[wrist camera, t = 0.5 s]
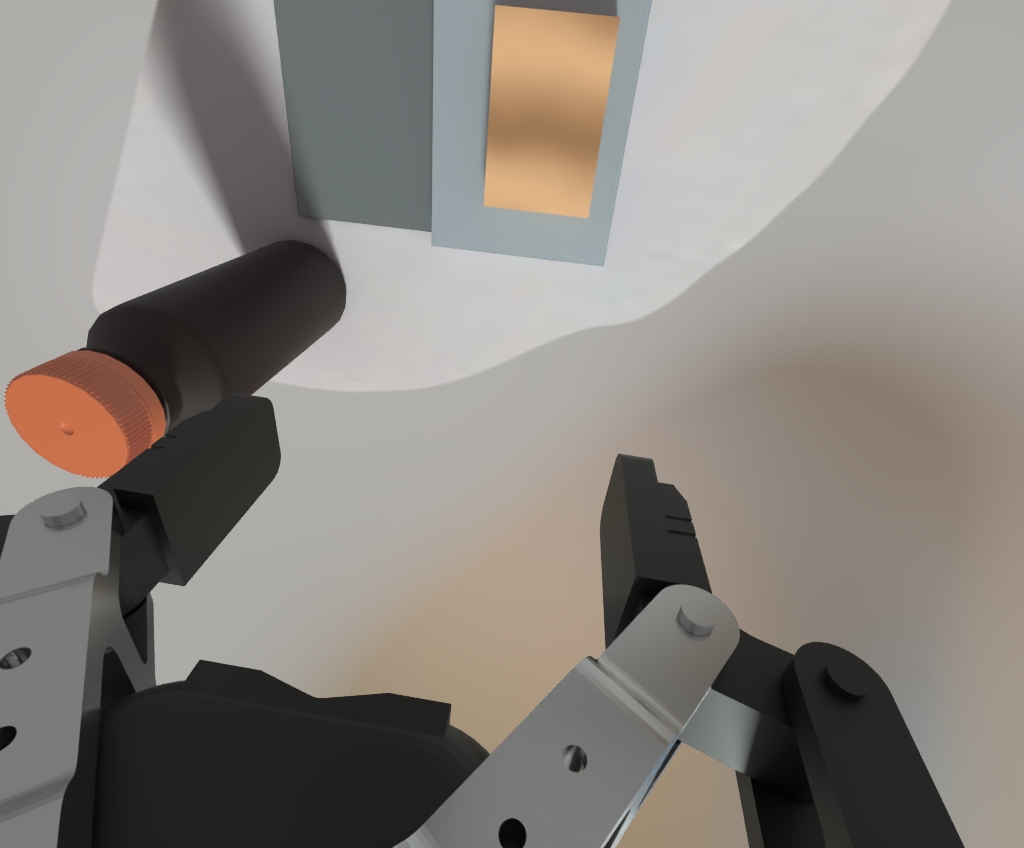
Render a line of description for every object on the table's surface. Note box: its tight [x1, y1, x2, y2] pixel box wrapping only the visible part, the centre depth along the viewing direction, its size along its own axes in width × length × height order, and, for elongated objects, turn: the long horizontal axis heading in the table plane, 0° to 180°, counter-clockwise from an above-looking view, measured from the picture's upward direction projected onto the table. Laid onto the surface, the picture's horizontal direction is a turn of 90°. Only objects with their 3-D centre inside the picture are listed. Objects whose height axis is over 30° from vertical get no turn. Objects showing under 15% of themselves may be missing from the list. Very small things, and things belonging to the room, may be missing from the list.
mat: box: [274, 0, 434, 232], centre depth 31 cm, size 13×9×1 cm
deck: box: [432, 0, 652, 267], centre depth 29 cm, size 16×11×2 cm
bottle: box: [5, 240, 346, 478], centre depth 29 cm, size 7×7×20 cm
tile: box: [484, 5, 620, 218], centre depth 27 cm, size 9×6×2 cm, turn 175°
